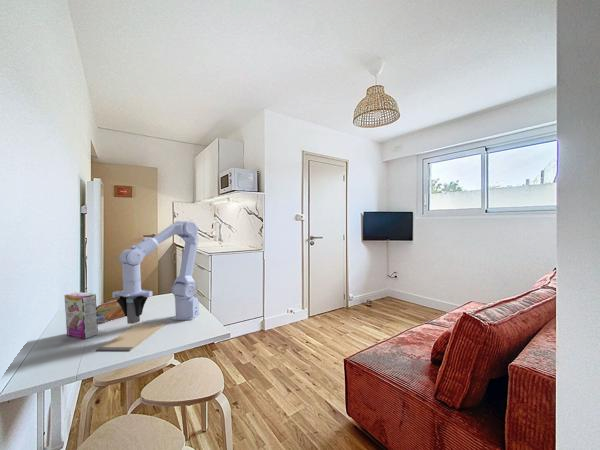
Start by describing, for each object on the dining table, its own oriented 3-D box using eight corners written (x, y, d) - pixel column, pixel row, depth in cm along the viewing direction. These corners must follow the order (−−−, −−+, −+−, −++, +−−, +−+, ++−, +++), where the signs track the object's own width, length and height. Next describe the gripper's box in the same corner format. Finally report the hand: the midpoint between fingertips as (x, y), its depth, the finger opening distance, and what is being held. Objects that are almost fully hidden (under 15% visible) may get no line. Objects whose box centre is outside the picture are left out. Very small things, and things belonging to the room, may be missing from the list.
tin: (95, 325, 108) (94, 306, 107) (92, 324, 109) (91, 305, 109) (133, 313, 120) (133, 296, 120) (130, 312, 122) (129, 295, 122)
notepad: (165, 324, 107) (165, 323, 107) (129, 350, 86) (129, 349, 86) (138, 324, 108) (138, 323, 108) (96, 350, 87) (96, 349, 87)
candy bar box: (65, 336, 98) (63, 294, 98) (80, 330, 103) (78, 291, 102) (84, 340, 95) (82, 297, 94) (98, 334, 99) (96, 293, 99)
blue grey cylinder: (142, 319, 99) (141, 295, 98) (135, 323, 94) (134, 298, 94) (132, 319, 99) (131, 295, 98) (124, 323, 95) (123, 299, 94)
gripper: (105, 283, 92) (106, 319, 93) (143, 283, 92) (144, 319, 92) (119, 278, 99) (121, 312, 100) (155, 278, 99) (156, 312, 99)
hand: (133, 315), depth 96 cm, fingers closed on blue grey cylinder, 4 cm apart
